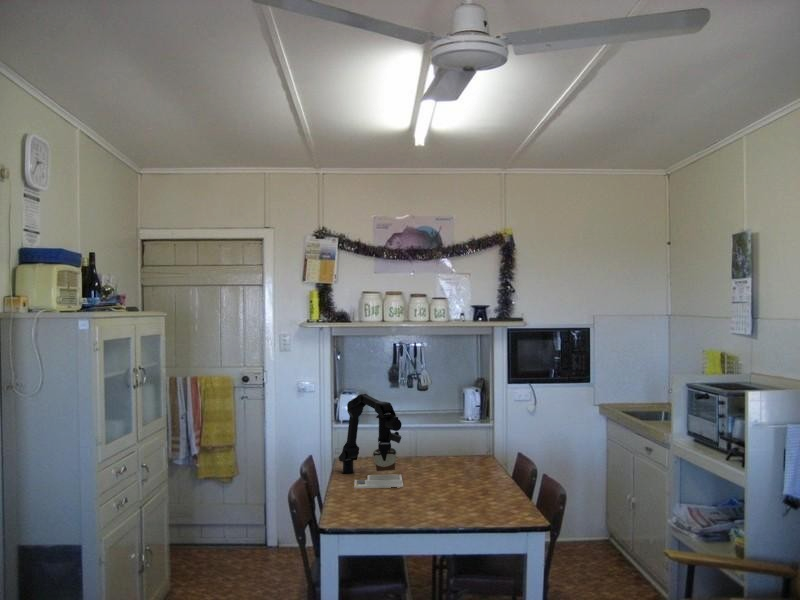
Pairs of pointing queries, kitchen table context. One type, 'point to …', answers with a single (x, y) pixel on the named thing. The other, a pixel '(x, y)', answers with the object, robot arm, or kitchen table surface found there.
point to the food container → (387, 464)
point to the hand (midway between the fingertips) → (384, 459)
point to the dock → (380, 481)
